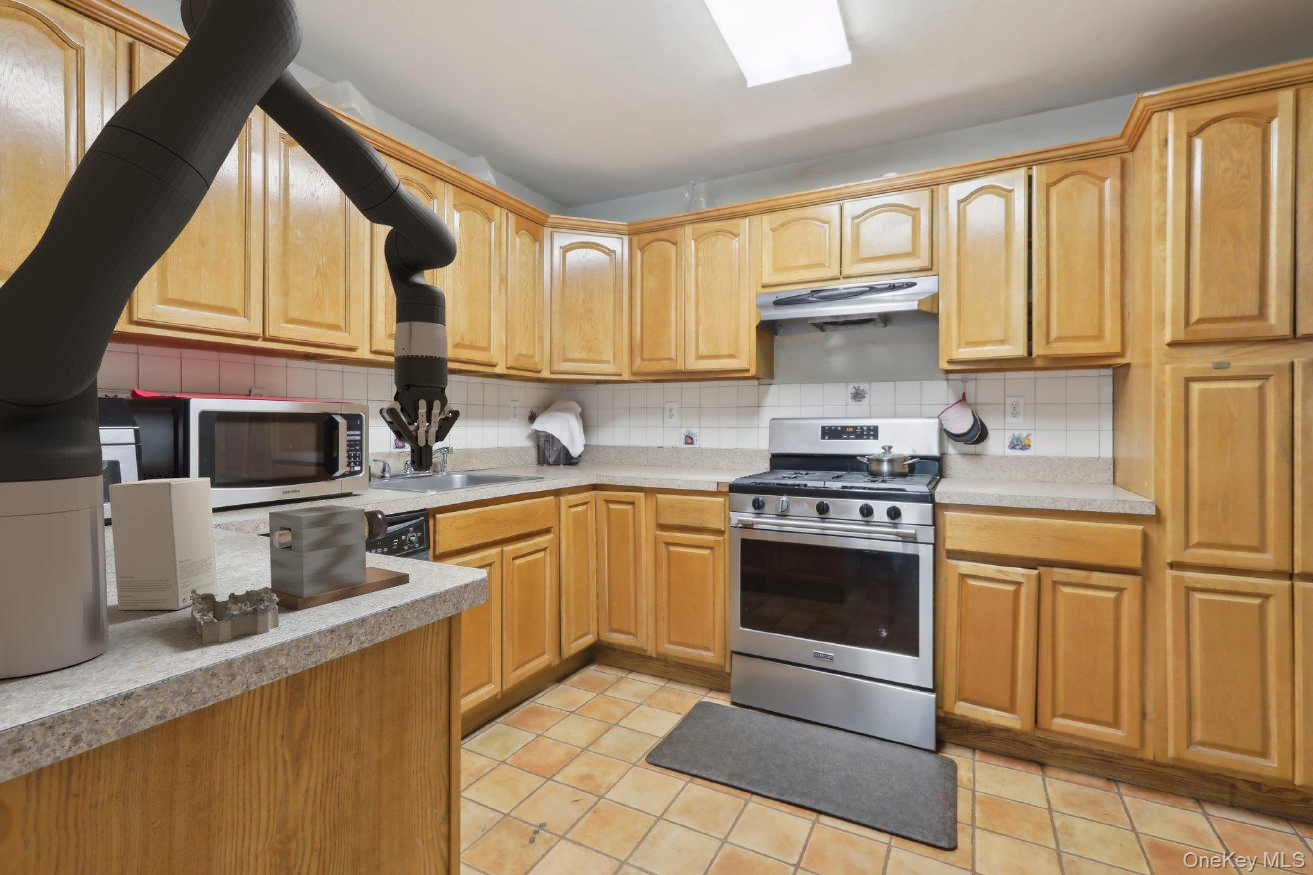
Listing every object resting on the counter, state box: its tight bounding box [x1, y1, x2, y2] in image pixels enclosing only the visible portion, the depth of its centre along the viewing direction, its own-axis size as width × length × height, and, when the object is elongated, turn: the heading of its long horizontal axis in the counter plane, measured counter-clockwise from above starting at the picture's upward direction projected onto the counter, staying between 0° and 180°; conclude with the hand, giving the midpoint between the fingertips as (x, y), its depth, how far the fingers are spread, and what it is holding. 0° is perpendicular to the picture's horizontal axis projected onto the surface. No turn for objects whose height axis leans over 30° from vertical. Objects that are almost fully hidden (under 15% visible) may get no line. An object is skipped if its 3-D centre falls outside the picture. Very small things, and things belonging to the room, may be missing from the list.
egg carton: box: [190, 586, 280, 643], centre depth 68 cm, size 11×8×4 cm
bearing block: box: [268, 504, 410, 611], centre depth 82 cm, size 15×9×11 cm, turn 147°
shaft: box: [273, 509, 389, 548], centre depth 82 cm, size 14×4×4 cm, turn 147°
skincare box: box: [108, 477, 219, 611], centre depth 77 cm, size 8×7×16 cm
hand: (421, 471), depth 93 cm, fingers closed
